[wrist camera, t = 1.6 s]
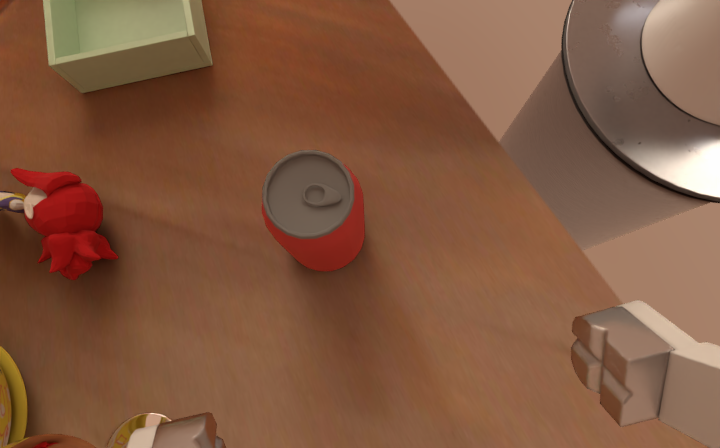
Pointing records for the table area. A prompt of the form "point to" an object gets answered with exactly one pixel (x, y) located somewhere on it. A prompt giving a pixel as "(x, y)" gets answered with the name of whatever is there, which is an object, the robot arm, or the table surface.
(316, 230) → the beer can
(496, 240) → the table surface
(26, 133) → the table surface
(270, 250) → the table surface
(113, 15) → the tub
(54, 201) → the figurine
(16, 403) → the flowerpot
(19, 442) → the wineglass
